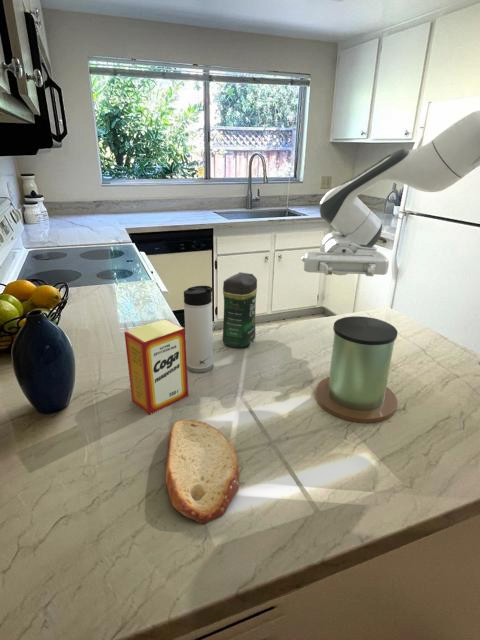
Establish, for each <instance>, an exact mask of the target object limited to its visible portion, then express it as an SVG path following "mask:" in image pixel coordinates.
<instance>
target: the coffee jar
mask: <svg viewBox="0 0 480 640" xmlns="http://www.w3.org/2000/svg"><path fill="white" fill-rule="evenodd" d="M257 292H258V278H257V277H256V276H255V275H254V274H253V273H248V272H240V271H239V272H238V273H236V274H234V275H231V276H229V277H228V278H226V279H225V280H223V286H222V294H223V325H222V343H223V344H224V345H227V346H228V347H231V348H235V349H236V348H246V347H248V346H249V345H251V342H254V340H255V339H256V307H257V306H256V304H257Z"/></svg>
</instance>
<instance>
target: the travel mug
mask: <svg viewBox="0 0 480 640" xmlns="http://www.w3.org/2000/svg"><path fill="white" fill-rule="evenodd" d="M213 291H214V287H212V286H210V285H196V286H191V287H187V289H185V290H184V291H183V311H184V312H183V313H184V314H183V315H184V328H185V337H186V358H187V370H188V371H190V372H193V373H195V374H196V373H197V374H200V373H201V374H203V373H207V372H209V371H211V370H212V369H213V367H214V337H213V336H214V333H213V332H214V331H213V329H214V327H213V297H212V293H213Z"/></svg>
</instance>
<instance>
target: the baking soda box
mask: <svg viewBox="0 0 480 640" xmlns="http://www.w3.org/2000/svg"><path fill="white" fill-rule="evenodd" d="M123 332H124V341H125V349H126V359H127V368H128V377H129V387H130V396H131V402H133V403H134V402H135V403H136V404H135V403H134V404H135V405H137V406H138V405H139V406H140V407H139V406H138V407H139V408H140V409H142V410H143V409H144V410H145V411H144V410H143V411H144V412H145V413H147V414H148V413H149V414H148V415H152V414H154V413H156V412H158V411H160V410H162V408H163V409H164V407H165V408H166V406H167V407H168V406H171V405H173V404H174V403H177V402H179V401H181V400H183V399H185V398H187V397H189V383H188V368H187V355H186V335H185V326H181V325H179V324H177V323H175V322H173V321H172V320H170V319H167V318H164V319H159V320H157V321H154V322H151V323H148V324H147V323H145V324H141V325H140V326H137V327H134V328H132V329H129V330H126V331H123ZM159 409H160V410H159ZM157 410H158V411H157ZM155 411H156V412H155ZM153 412H154V413H153ZM151 413H152V414H151Z"/></svg>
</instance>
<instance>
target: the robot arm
mask: <svg viewBox="0 0 480 640" xmlns="http://www.w3.org/2000/svg"><path fill="white" fill-rule="evenodd" d="M478 167H480V110H475V111H473V112H471V113H469V114H467V115H466V116H464V117H462V118H461V119H459V120H458V121H456V122H454V123H453V124H452V125H450V126H448V127H447V128H446V129H444V130H443V131H441V132H440V133H439V134H438V135H437V136H435V137H434V138H432V140H430V141H429V142H428V143H426V144H425V145H422V146H420V147H418V148H417V147H416V148H414V149H407V148H401V149H397V150H396V151H394V152H391V153H390V154H388V155H387V156H385V157H383V158H382V159H380V160H378V161H377V162H375V163H374V164H372V165H370V166H369V167H367V168H365V169H364V170H363V171H361V172H360V173H358V174H356V175H355V176H353V177H352V178H350V179H348V180H346V181H344V182H343V183H341V184H339V185H337V186H336V187H334V188H332V189H331V190H329V191H327V193H325V194H324V196H323V197H322V198H321V200H320V202H319V214H320V218H322V219H323V220H324V221H325V222H327V224H329V225H331V226H332V227H333V228H334V229H335V230H336V231H330V232H328V233H327V234H325V235H324V237H323V238H322V240H321V241H320V245H319V251H308V252H306V253H305V255H302V256H301V261H302V262H303V271H304V272H305V273H318V274H325V276H333V275H335V276H346V275H349V274H350V275H365V276H366V277H374V275H375V276H376V275H377V276H385V275H387V274H388V271H389V265H390V261H389V258H387V256H386V255H385V254H384V253H382V252H380V251H378V249H377V247H376V246H375V245H376V244H377V243H378V241H379V240H380V238H381V235H382V230H383V221H382V220H381V219H380V218H379V217H378V216H377V215H376V213H374V212H373V211H372V209H370V208H369V207H368V206H367V205H366V204H365V203H364V202H363V201H362V200H361V199H360V198H359V197H358V196H359V195H361V194H363V193H364V192H366V191H368V190H369V189H371V188H372V187H374V186H376V185H377V184H380V183H381V182H385V181H395V182H398V183H400V184H403V185H406V186H408V187H410V188H412V189H414V190H417V191H420V192H426V193H437V192H438V193H439V192H442V191H444V190H446V189H448V188H450V187H451V186H453V185H455V184H456V183H457V182H459V181H461V180H462V179H463V178H464V177H466V176H467V175H468V174H469V173H471V172H472V171H474V170H476V169H477V168H478Z"/></svg>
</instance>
